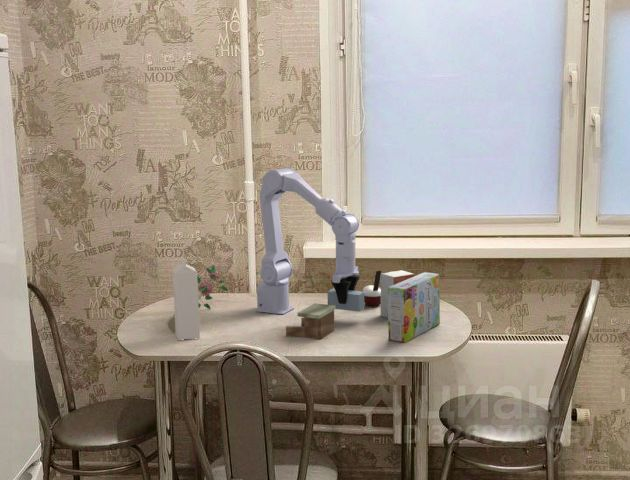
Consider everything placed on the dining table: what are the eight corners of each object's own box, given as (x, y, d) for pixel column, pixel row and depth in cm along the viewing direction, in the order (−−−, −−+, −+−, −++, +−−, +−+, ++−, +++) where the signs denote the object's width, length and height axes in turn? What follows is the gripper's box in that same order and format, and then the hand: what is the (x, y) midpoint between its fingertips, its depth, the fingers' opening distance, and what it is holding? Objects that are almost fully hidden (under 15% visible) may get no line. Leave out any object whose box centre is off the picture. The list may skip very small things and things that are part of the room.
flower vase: (169, 355, 227) (198, 299, 259) (207, 345, 225) (232, 289, 257) (152, 320, 223) (184, 268, 255) (191, 309, 221) (218, 257, 253)
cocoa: (363, 303, 254) (361, 266, 253) (382, 302, 254) (381, 265, 252) (363, 309, 245) (361, 271, 243) (383, 309, 244) (382, 270, 243)
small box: (393, 320, 233) (393, 277, 231) (380, 315, 238) (380, 273, 236) (414, 315, 237) (414, 273, 235) (400, 311, 243) (401, 269, 240)
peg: (327, 308, 233) (327, 291, 232) (333, 304, 236) (333, 288, 235) (359, 311, 229) (359, 295, 228) (364, 308, 232) (364, 291, 231)
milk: (178, 341, 216) (173, 262, 212) (175, 335, 221) (171, 257, 217) (200, 338, 217) (196, 260, 213) (197, 332, 223) (193, 256, 219)
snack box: (423, 321, 231) (423, 271, 228) (440, 324, 228) (441, 273, 225) (386, 340, 214) (386, 286, 211) (405, 343, 211) (405, 288, 208)
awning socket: (284, 336, 219) (284, 311, 218) (303, 325, 229) (302, 301, 228) (319, 340, 214) (318, 315, 213) (336, 329, 224) (336, 305, 223)
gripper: (348, 262, 222) (348, 309, 224) (367, 252, 234) (367, 297, 237) (325, 260, 225) (325, 306, 227) (345, 250, 237) (345, 294, 240)
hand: (345, 301), depth 232 cm, fingers closed on peg, 4 cm apart
